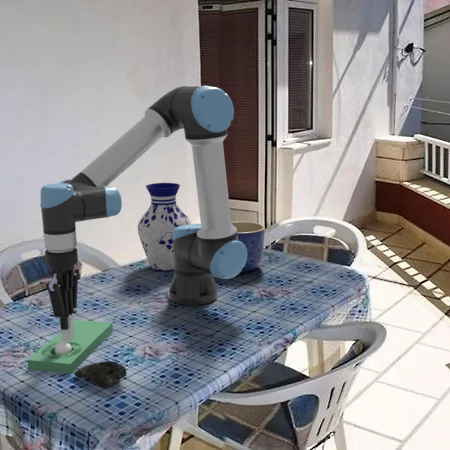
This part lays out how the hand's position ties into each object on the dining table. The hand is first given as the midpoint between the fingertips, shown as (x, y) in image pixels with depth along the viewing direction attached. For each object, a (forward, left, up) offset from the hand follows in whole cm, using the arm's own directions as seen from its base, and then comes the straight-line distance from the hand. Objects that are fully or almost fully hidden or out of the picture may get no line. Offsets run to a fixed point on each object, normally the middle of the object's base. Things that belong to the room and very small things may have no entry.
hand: (67, 339), depth 153 cm
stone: (-14, +12, -4) cm, 18 cm away
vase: (-2, -73, -4) cm, 73 cm away
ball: (0, +3, -1) cm, 3 cm away
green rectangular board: (0, -3, -4) cm, 4 cm away
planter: (-29, -77, -4) cm, 82 cm away
